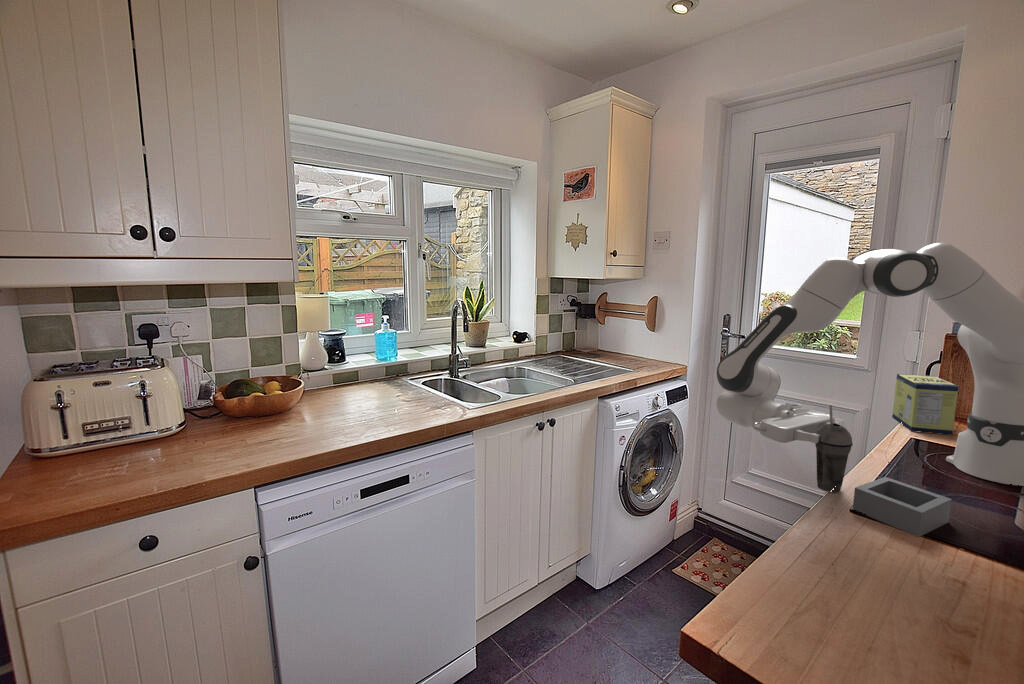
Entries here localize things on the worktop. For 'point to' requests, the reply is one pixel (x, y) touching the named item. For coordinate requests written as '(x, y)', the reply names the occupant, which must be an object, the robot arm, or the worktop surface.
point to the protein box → (925, 403)
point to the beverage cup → (832, 455)
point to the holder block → (902, 505)
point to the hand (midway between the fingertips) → (831, 436)
